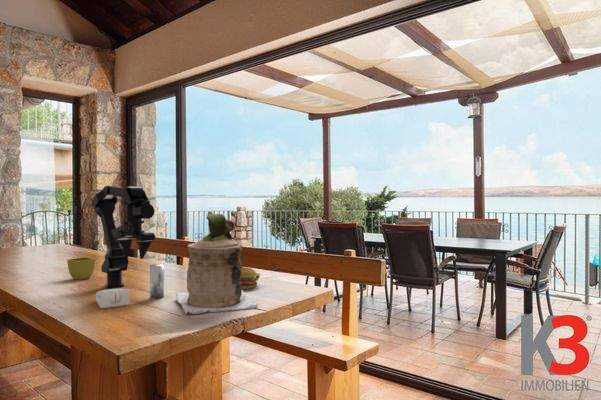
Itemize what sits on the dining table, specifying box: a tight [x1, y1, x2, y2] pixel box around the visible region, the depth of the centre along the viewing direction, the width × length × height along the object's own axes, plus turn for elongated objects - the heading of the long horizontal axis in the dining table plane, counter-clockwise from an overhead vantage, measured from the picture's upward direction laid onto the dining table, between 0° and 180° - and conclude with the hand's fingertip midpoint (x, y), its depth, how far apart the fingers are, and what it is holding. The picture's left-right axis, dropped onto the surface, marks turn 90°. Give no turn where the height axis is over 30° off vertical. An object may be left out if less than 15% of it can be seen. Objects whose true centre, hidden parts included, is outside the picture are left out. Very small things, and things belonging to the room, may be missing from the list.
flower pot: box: [66, 256, 97, 281], centre depth 190 cm, size 9×9×9 cm
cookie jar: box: [176, 211, 259, 315], centre depth 144 cm, size 25×25×32 cm
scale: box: [95, 288, 131, 309], centre depth 146 cm, size 13×10×5 cm
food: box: [239, 266, 261, 290], centre depth 172 cm, size 14×14×8 cm
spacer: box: [149, 263, 165, 300], centre depth 153 cm, size 5×5×12 cm
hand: (134, 258), depth 163 cm, fingers open, 9 cm apart
